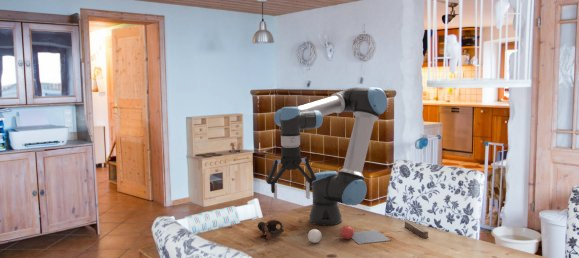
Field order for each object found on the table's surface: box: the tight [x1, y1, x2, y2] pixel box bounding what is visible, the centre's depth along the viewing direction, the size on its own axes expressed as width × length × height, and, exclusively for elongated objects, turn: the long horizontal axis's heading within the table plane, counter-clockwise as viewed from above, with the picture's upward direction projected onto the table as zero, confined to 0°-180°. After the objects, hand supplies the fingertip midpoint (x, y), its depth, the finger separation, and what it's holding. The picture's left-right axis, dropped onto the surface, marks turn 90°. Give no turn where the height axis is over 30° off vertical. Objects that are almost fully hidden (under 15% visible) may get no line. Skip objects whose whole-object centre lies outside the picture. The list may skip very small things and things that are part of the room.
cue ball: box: [307, 228, 322, 244], centre depth 193 cm, size 6×6×6 cm
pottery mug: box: [257, 219, 285, 241], centre depth 202 cm, size 12×10×8 cm
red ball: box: [340, 225, 355, 240], centre depth 196 cm, size 6×6×6 cm
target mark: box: [351, 229, 391, 245], centre depth 199 cm, size 14×14×1 cm
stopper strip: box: [404, 220, 429, 239], centre depth 203 cm, size 2×16×2 cm, turn 13°
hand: (291, 199), depth 189 cm, fingers open, 12 cm apart
